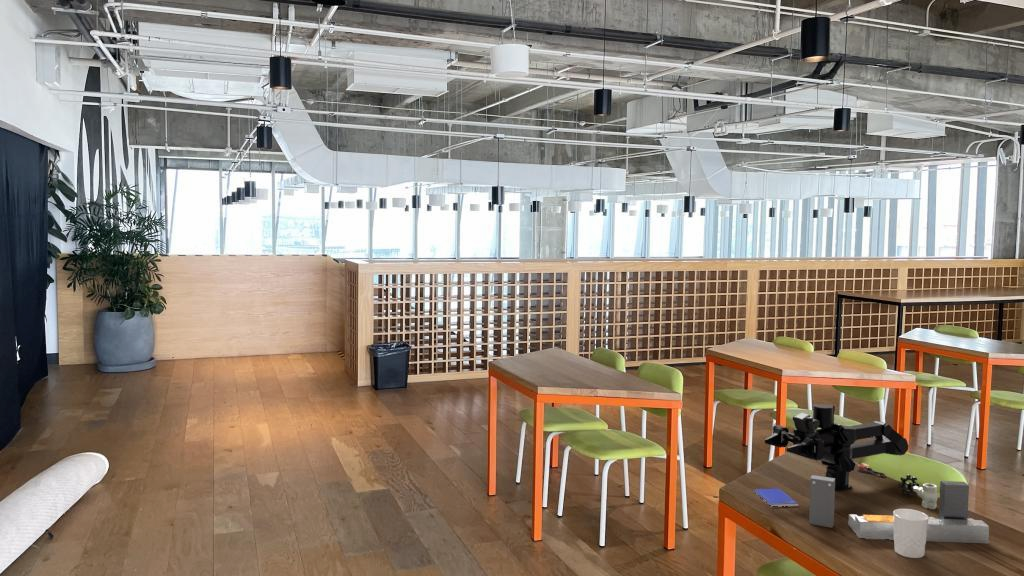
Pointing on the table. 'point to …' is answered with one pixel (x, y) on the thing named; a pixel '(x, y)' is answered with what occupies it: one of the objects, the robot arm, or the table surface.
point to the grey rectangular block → (822, 501)
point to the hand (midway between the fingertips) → (775, 445)
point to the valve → (920, 491)
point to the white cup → (910, 532)
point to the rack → (932, 520)
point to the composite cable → (868, 469)
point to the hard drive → (776, 497)
